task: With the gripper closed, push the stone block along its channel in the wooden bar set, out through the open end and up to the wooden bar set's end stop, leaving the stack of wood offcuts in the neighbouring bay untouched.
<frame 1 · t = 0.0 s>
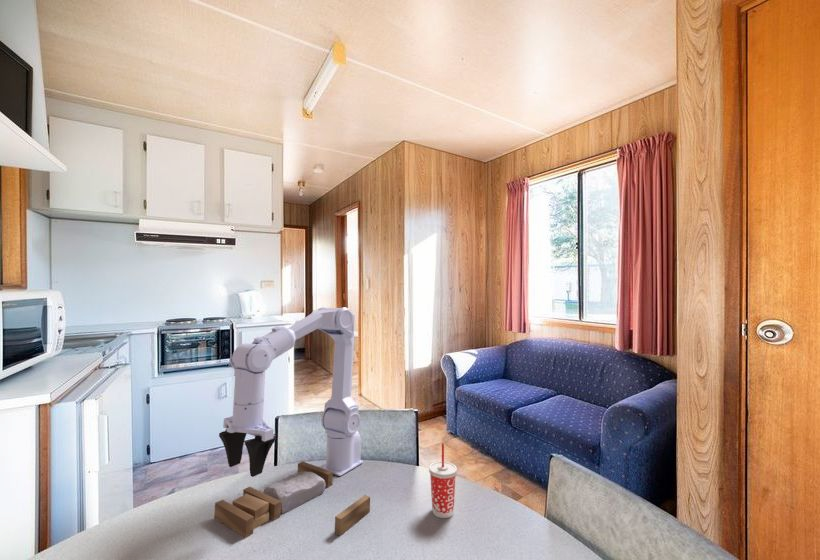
hand: (245, 469, 67), 10 cm above the table, tool pointing down, fingers open, 7 cm apart
stone block: (292, 497, 76), on the table
beverage cup: (443, 512, 70), on the table
offcut low: (248, 520, 67), on the table, touching offcut top
wooden bar set: (291, 494, 76), on the table
offcut top: (250, 511, 67), point 2 cm above the table, touching offcut low
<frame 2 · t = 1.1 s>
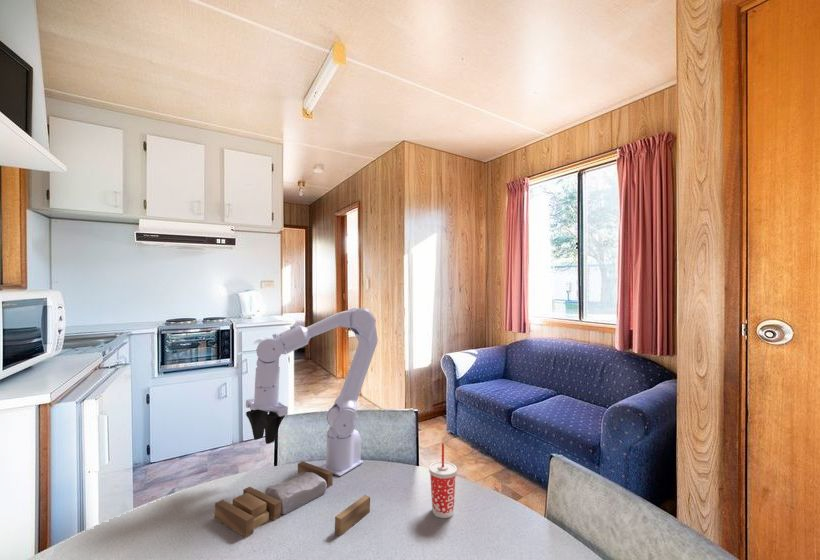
hand: (264, 440, 83), 10 cm above the table, tool pointing down, fingers open, 4 cm apart
nothing on the table moved.
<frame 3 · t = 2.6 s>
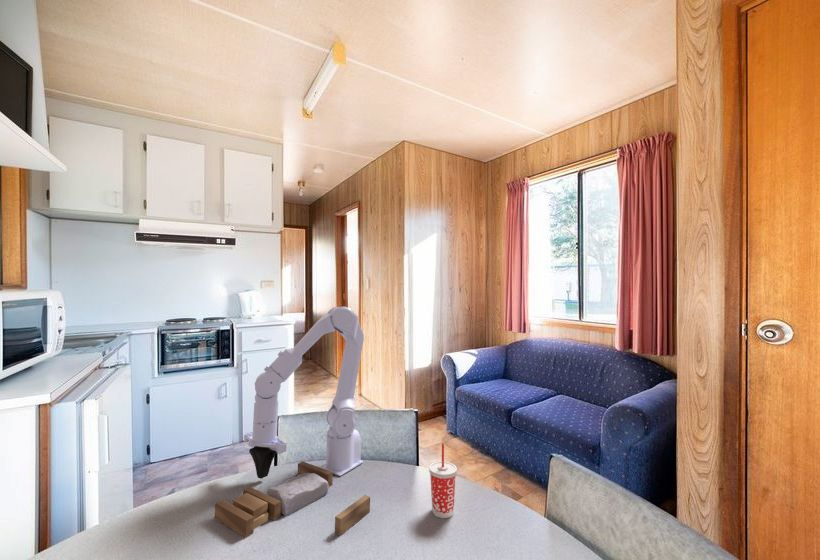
hand: (262, 476, 82), 1 cm above the table, tool pointing down, fingers closed
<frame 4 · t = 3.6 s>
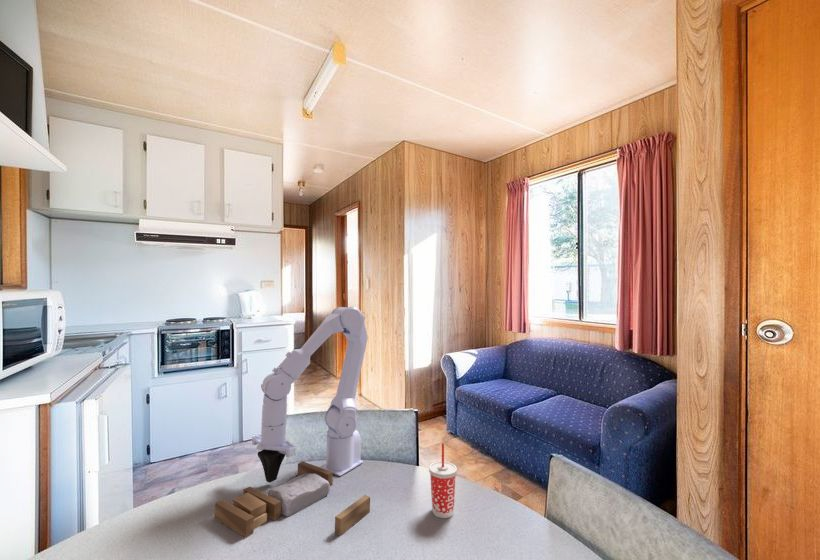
hand: (271, 480, 80), 1 cm above the table, tool pointing down, fingers closed
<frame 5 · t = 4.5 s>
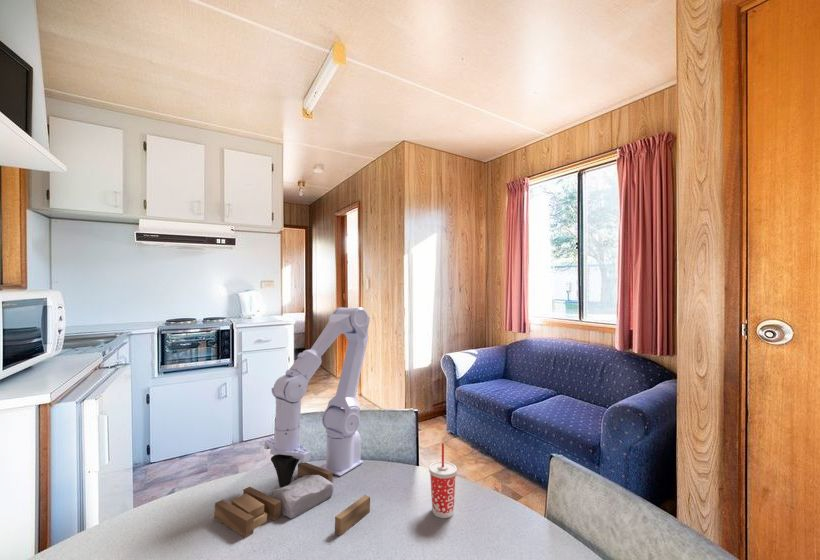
hand: (285, 486, 78), 1 cm above the table, tool pointing down, fingers closed
stone block: (300, 501, 74), on the table, touching gripper
everything else where it was.
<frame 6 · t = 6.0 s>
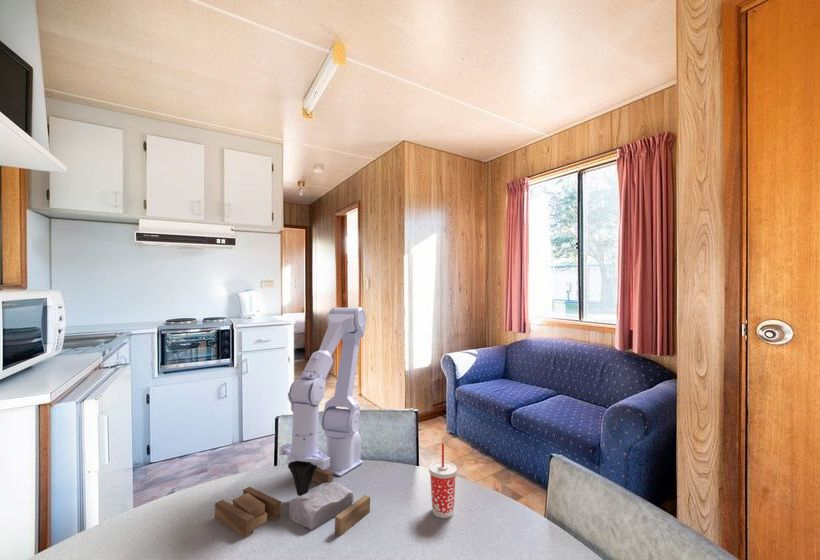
hand: (302, 493, 75), 1 cm above the table, tool pointing down, fingers closed
stone block: (319, 511, 71), on the table
everything else where it was.
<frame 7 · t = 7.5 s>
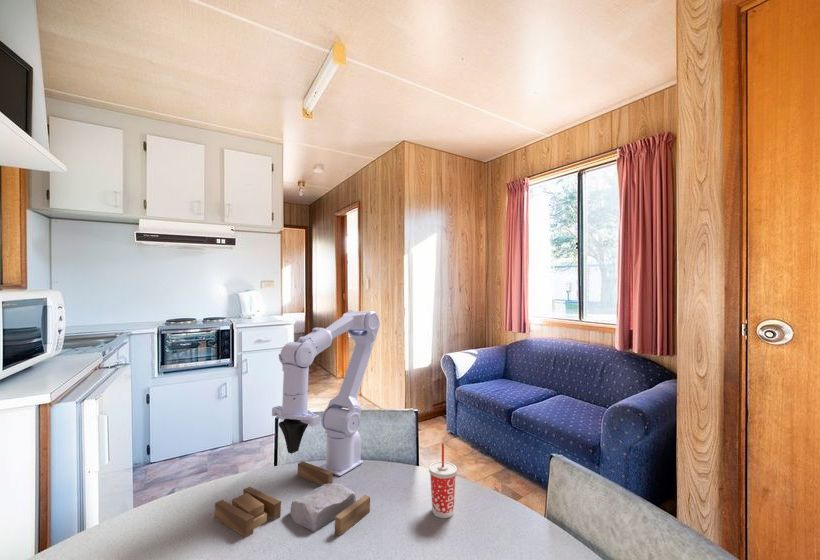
hand: (293, 451, 77), 10 cm above the table, tool pointing down, fingers closed
nothing on the table moved.
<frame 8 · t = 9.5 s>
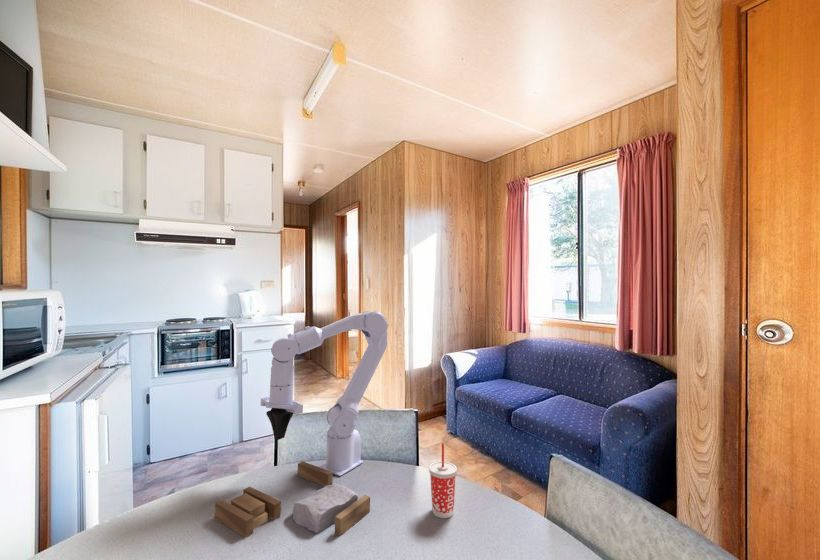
hand: (279, 438, 85), 10 cm above the table, tool pointing down, fingers closed
at the end: stone block inside the target area (1.7 cm from its centre), on the table; stone block moved 11.0 cm from its start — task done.
